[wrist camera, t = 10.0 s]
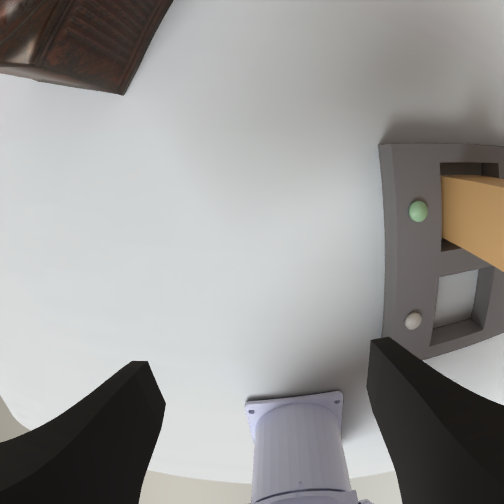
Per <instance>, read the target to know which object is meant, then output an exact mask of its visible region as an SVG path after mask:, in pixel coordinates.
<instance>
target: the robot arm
mask: <svg viewBox="0 0 504 504" xmlns="http://www.w3.org/2000/svg"><path fill="white" fill-rule="evenodd" d="M366 387H367V391H368V395H369V399H370V403H371V406H372V410H373V413H374V416H375V419H376V421H377V424H378V426H379V429H380V431H381V434H382V436H383V439H384V441H385V444H386V446H387V449H388V452H389V454H390V457H391V459H392V462H393V465H394V468H395V471H396V474H397V479H398V483H399V488H400V493H401V498H402V503H403V504H504V405H501V404H498V403H496V402H493V401H491V400H488V399H486V398H484V397H482V396H480V395H478V394H476V393H474V392H472V391H470V390H468V389H466V388H464V387H462V386H460V385H459V384H457V383H455V382H454V381H452V380H450V379H449V378H447V377H445V376H444V375H442V374H441V373H439V372H438V371H436V370H435V369H433V368H432V367H430V366H429V365H427V364H426V363H425V362H423V361H422V360H420V359H419V358H418V357H416V356H415V355H413V354H412V353H411V352H409V351H408V350H407V349H405V348H404V347H403V346H401V345H400V344H399V343H397V342H396V341H394V340H393V339H392V338H390V337H384V338H379V339H374V340H371V345H370V357H369V368H368V378H367V386H366ZM336 400H338V401H336ZM165 406H166V403H165V400H164V398H163V396H162V394H161V392H160V389H159V387H158V385H157V383H156V380H155V378H154V376H153V373H152V371H151V368H150V366H149V363H148V361H131V362H130V363H129V364H127V365H126V366H124V367H123V368H122V369H120V370H119V371H118V372H117V373H115V374H114V375H113V376H111V377H110V378H109V379H108V380H107V381H105V382H104V383H103V384H101V385H100V386H99V387H98V388H96V389H95V390H94V391H93V392H91V393H90V394H89V395H88V396H86V397H85V398H83V399H82V400H81V401H79V402H78V403H77V404H75V405H74V406H72V407H71V408H70V409H68V410H67V411H65V412H64V413H62V414H61V415H59V416H58V417H56V418H54V419H53V420H51V421H49V422H47V423H46V424H44V425H42V426H40V427H38V428H36V429H34V430H32V431H30V432H27V433H25V434H23V435H21V436H18V437H16V438H13V439H10V440H8V441H5V442H1V443H0V504H138V503H139V498H140V492H141V487H142V484H143V480H144V477H145V474H146V471H147V468H148V465H149V462H150V459H151V456H152V454H153V451H154V448H155V445H156V442H157V439H158V436H159V433H160V430H161V427H162V422H163V417H164V411H165ZM342 409H343V393H342V392H341V391H334V392H328V393H321V394H314V395H307V396H299V397H291V398H281V399H271V400H258V401H248V402H246V403H245V411H246V415H247V419H248V423H249V427H250V431H251V434H252V438H253V442H254V461H253V479H252V497H251V503H250V504H373V503H372V502H370V501H369V500H367V499H365V500H360V501H359V502H358V498H357V493H356V490H351V485H350V479H349V474H348V469H347V464H346V460H345V455H344V450H343V445H342V441H341V436H340V434H341V422H342ZM251 410H253V411H251Z"/></svg>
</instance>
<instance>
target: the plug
mask: <svg viewBox="0 0 504 504" xmlns="http://www.w3.org/2000/svg"><path fill="white" fill-rule="evenodd" d="M440 178H441V203H442V232H441V237H442V238H444V239H446V240H448V241H450V242H452V243H454V244H455V245H457V246H459V247H461V248H463V249H465V250H467V251H468V252H470V253H472V254H474V255H475V256H477V257H479V258H481V259H483V260H484V261H486V262H488V263H489V264H491V265H493V266H494V267H496V268H498V269H500V270H501V271H503V272H504V179H500V178H495V177H489V176H483V175H476V174H466V175H440Z"/></svg>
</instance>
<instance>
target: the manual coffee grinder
mask: <svg viewBox="0 0 504 504" xmlns="http://www.w3.org/2000/svg"><path fill="white" fill-rule="evenodd" d="M172 1H173V0H0V73H2V74H8V75H13V76H18V77H24V78H29V79H33V80H36V81H38V82H46V83H52V84H57V85H63V86H69V87H75V88H82V89H89V90H96V91H102V92H108V93H114V94H119V95H124V94H125V92H126V90H127V88H128V86H129V84H130V82H131V80H132V78H133V76H134V74H135V73H136V71H137V69H138V67H139V64H140V62H141V60H142V58H143V56H144V54H145V52H146V50H147V48H148V46H149V44H150V42H151V40H152V38H153V36H154V34H155V32H156V30H157V28H158V26H159V24H160V22H161V21H162V19H163V17H164V15H165V14H166V12H167V10H168V8H169V7H170V5H171V3H172Z"/></svg>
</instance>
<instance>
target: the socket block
mask: <svg viewBox="0 0 504 504" xmlns="http://www.w3.org/2000/svg"><path fill="white" fill-rule="evenodd" d="M378 149H379V157H380V167H381V177H382V190H383V205H384V226H385V292H384V314H383V329H382V338H384V337H390V338H392V339H393V340H394V341H396V342H397V343H399V344H400V345H401V346H403V347H404V348H405V349H407V350H408V351H409V352H411V353H412V354H413V355H415V356H416V357H418V358H419V359H420V360H425V359H428V358H432V357H435V356H439V355H442V354H445V353H448V352H452V351H455V350H458V349H461V348H464V347H467V346H470V345H472V344H475V343H478V342H481V341H483V340H486V339H489V338H491V337H494V336H496V335H499V334H501V333H504V272H503V271H501V270H500V269H498V268H496V267H494V266H493V265H491V264H489V263H488V262H486V261H484V260H483V259H481V258H479V257H477V256H475V255H474V254H472V253H470V252H468V251H467V250H465V249H463V248H461V247H459V246H457V245H455V244H454V243H452V242H450V241H448V240H445V241H441V232H442V203H441V178H440V163H441V162H477V163H482V175H483V176H489V177H495V178H500V179H504V147H502V146H489V145H473V144H449V143H393V144H382V145H378ZM475 269H479V273H478V281H477V288H476V294H475V300H474V306H473V311H472V316H471V319H467V320H464V321H461V322H457V323H454V324H450V325H447V326H443V327H439V328H436V329H433V323H434V316H435V309H436V301H437V293H438V283H439V277H442V276H447V275H452V274H457V273H461V272H466V271H471V270H475Z"/></svg>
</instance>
